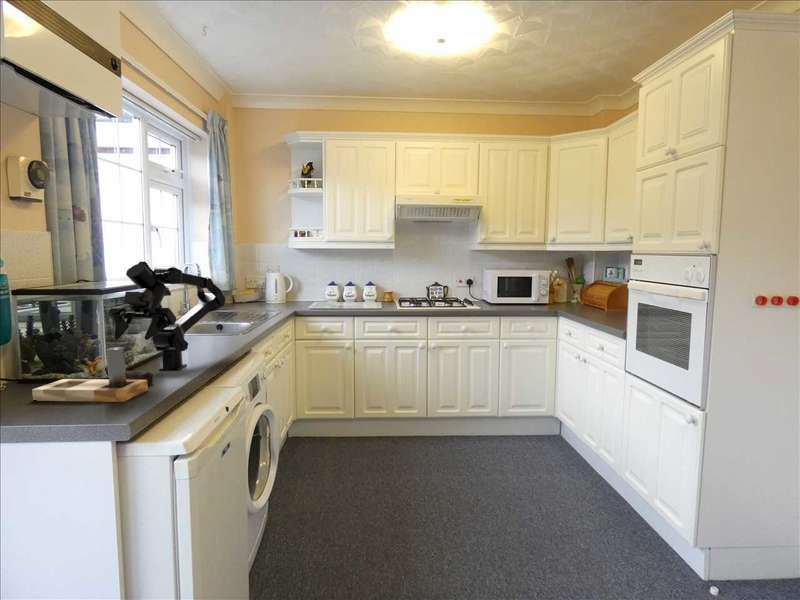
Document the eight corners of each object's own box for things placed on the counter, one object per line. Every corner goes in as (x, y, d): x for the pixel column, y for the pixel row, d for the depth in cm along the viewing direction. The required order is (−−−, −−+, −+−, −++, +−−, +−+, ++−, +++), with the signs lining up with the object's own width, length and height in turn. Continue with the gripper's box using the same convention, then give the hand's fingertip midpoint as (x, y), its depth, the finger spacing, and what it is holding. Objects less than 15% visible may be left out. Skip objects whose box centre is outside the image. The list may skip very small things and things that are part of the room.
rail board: (64, 389, 125) (63, 378, 125) (147, 390, 123) (147, 379, 123) (33, 400, 115) (32, 389, 115) (123, 401, 114) (122, 390, 113)
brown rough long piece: (154, 384, 130) (153, 369, 130) (142, 387, 127) (141, 372, 126) (113, 377, 138) (112, 363, 138) (100, 381, 134) (99, 366, 134)
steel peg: (111, 394, 120) (108, 348, 119) (128, 392, 121) (125, 346, 120) (108, 398, 116) (104, 350, 115) (125, 396, 118) (122, 349, 116)
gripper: (109, 281, 132) (83, 322, 122) (168, 281, 131) (147, 323, 121) (128, 304, 141) (106, 344, 131) (184, 304, 140) (166, 345, 130)
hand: (130, 339), depth 128 cm, fingers open, 9 cm apart
